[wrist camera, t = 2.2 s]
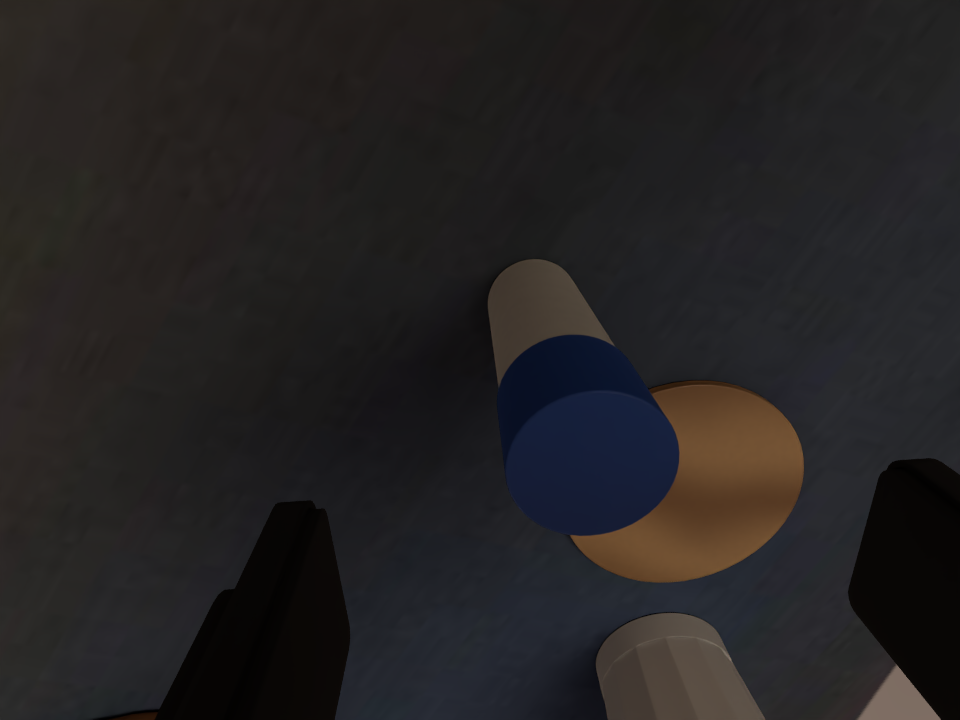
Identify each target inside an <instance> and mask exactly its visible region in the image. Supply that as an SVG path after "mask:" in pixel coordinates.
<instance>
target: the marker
mask: <svg viewBox="0 0 960 720" xmlns="http://www.w3.org/2000/svg"><path fill="white" fill-rule="evenodd" d="M488 313H489V320H490V328H491V335H492V342H493V350H494V357H495V365H496V372H497V379H498V387H499V389H498V395H497V410H498V419H499V427H500V435H501V443H502V451H503V460H504V468H505V476H506V483H507V486H508V490H509V492H510V494H511V496H512V499H513V500H514V502H515V503H516V505H517V506H518V507H519V509H520V510H521V511H522V512H523V513H524V514H525V515H526V516H527V517H529V518H530V519H531V520H532V521H534V522H535V523H537V524H539V525H540V526H542V527H545V528H547V529H549V530H552V531H555V532H558V533H562V534H567V535H576V536H592V535H601V534H606V533H610V532H614V531H617V530H620V529H623V528H625V527H627V526H629V525H632V524H633V523H635V522H637V521H639V520H640V519H642V518H643V517H645V516H646V515H647V514H649V513H650V512H651V511H652V510H653V509H654V508H656V507H657V506H658V505H659V503H660V502H661V501H662V500H663V499H664V498H665V496H666V495H667V493H668V492H669V490H670V488H671V486H672V484H673V483H674V480H675V477H676V474H677V471H678V466H679V454H680V451H679V443H678V439H677V436H676V433H675V431H674V429H673V427H672V425H671V423H670V422H669V420H668V419H667V417H666V416H665V414H664V413H663V411H662V410H661V408H660V407H659V405H658V404H657V402H656V400H655V399H654V397H653V396H652V394H651V393H650V391H649V390H648V388H647V387H646V385H645V384H644V382H643V381H642V379H641V378H640V376H639V375H638V373H637V372H636V370H635V369H634V367H633V366H632V364H631V363H630V361H629V360H628V358H627V357H626V356H625V355H624V354H623V353H622V352H621V351H620V350H618V349H617V348H616V347H615V346H614V344H613V343H612V341H611V339H610V338H609V336H608V335H607V333H606V332H605V330H604V329H603V327H602V325H601V324H600V322H599V321H598V319H597V318H596V316H595V314H594V313H593V311H592V310H591V308H590V307H589V305H588V304H587V302H586V300H585V299H584V297H583V296H582V294H581V293H580V291H579V290H578V288H577V286H576V285H575V283H574V282H573V280H572V279H571V277H570V276H569V274H568V273H567V272H566V271H565V270H564V269H562V268H561V267H560V266H558V265H556V264H554V263H552V262H550V261H546V260H540V259H530V260H524V261H520V262H517V263H515V264H513V265H511V266H509V267H508V268H507V269H505V270H504V271H503V272H502V273H501V274H500V275H499V276H498V277H497V278H496V280H495V281H494V283H493V285H492V287H491V289H490V292H489V296H488Z"/></svg>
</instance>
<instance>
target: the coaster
mask: <svg viewBox="0 0 960 720" xmlns="http://www.w3.org/2000/svg"><path fill="white" fill-rule="evenodd" d="M649 391H650V393H651V394H652V396H653V397H654V399H655V400H656V402H657V404H658V405H659V407H660V408H661V410H662V411H663V413H664V414H665V416H666V417H667V419H668V420H669V422H670V423H671V425H672V427H673V429H674V431H675V433H676V436H677V439H678V443H679V451H680V454H679V466H678V471H677V474H676V477H675V480H674V483H673V484H672V486H671V488H670V490H669V492H668V493H667V495H666V496H665V498H664V499H663V500H662V501H661V502H660V503H659V505H658V506H657V507H656V508H654V509H653V510H652V511H651V512H650V513H649V514H647V515H646V516H645V517H643V518H642V519H640V520H639V521H637V522H635V523H633V524H632V525H629V526H627V527H625V528H623V529H620V530H617V531H614V532H610V533H606V534H601V535H592V536H576V535H570V536H571V538H572V540H573V541H574V543H575V544H576V546H577V547H578V548H579V549H580V550H581V551H582V552H583V553H584V555H586V556H587V557H588V558H589V559H590V560H592V561H593V562H594V563H596V564H597V565H599V566H600V567H602V568H604V569H605V570H608V571H610V572H612V573H614V574H616V575H619V576H623V577H626V578H629V579H634V580H639V581H646V582H677V581H686V580H691V579H696V578H700V577H704V576H707V575H710V574H713V573H716V572H718V571H721V570H723V569H726V568H728V567H730V566H732V565H734V564H736V563H738V562H740V561H741V560H743V559H745V558H746V557H748V556H749V555H751V554H752V553H754V552H755V551H756V550H757V549H759V548H760V547H761V546H762V545H764V544H765V543H766V542H767V541H768V540H769V539H770V538H771V537H772V536H773V535H774V534H775V533H776V532H777V531H778V529H779V528H780V527H781V526H782V525H783V523H784V522H785V521H786V519H787V517H788V516H789V514H790V513H791V511H792V509H793V507H794V505H795V503H796V501H797V498H798V496H799V492H800V489H801V486H802V480H803V473H804V459H803V453H802V448H801V444H800V442H799V439H798V436H797V434H796V432H795V430H794V429H793V427H792V425H791V424H790V422H789V421H788V420H787V419H786V417H785V416H784V415H783V414H782V413H781V412H780V411H779V410H778V409H777V408H776V407H775V406H774V405H772V404H771V403H770V402H769V401H767V400H766V399H765V398H763V397H761V396H760V395H758V394H756V393H754V392H752V391H750V390H747V389H745V388H742V387H740V386H736V385H732V384H728V383H724V382H716V381H683V382H675V383H670V384H666V385H662V386H658V387H654V388H652V389H649Z"/></svg>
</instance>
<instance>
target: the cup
mask: <svg viewBox="0 0 960 720" xmlns="http://www.w3.org/2000/svg"><path fill="white" fill-rule="evenodd" d="M596 671H597V675H598V679H599V683H600V687H601V691H602V696H603V699H604V701H605V706H606V712H607V718H608V720H765V718H764V716H763V715H762V713H761V711H760V709H759V708H758V706H757V704H756V702H755V701H754V699H753V697H752V696H751V694H750V692H749V690H748V689H747V687H746V685H745V683H744V682H743V680H742V678H741V677H740V675H739V673H738V671H737V670H736V668H735V666H734V664H733V662H732V660H731V658H730V656H729V654H728V652H727V650H726V648H725V646H724V644H723V642H722V640H721V638H720V636H719V634H718V632H717V631H716V630H715V629H714V628H713V627H712V626H711V625H710V624H708V623H707V622H705V621H704V620H702V619H699V618H697V617H694V616H691V615H686V614H680V613H661V614H654V615H649V616H645V617H642V618H639V619H636V620H634V621H631V622H629V623H627V624H625V625H624V626H622V627H620V628H619V629H617V630H616V631H615V632H613V633H612V634H611V635H610V636H609V637H608V638H607V639H606V640H605V642H604V643H603V644H602V646H601V648H600V650H599V652H598V654H597V658H596Z"/></svg>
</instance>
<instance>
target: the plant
mask: <svg viewBox="0 0 960 720" xmlns="http://www.w3.org/2000/svg"><path fill="white" fill-rule="evenodd" d="M157 713H158V712H146V713H137V714H131V715H126V716H122V717H117V718H113V719H108V720H154V719H155V717H156V715H157Z"/></svg>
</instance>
